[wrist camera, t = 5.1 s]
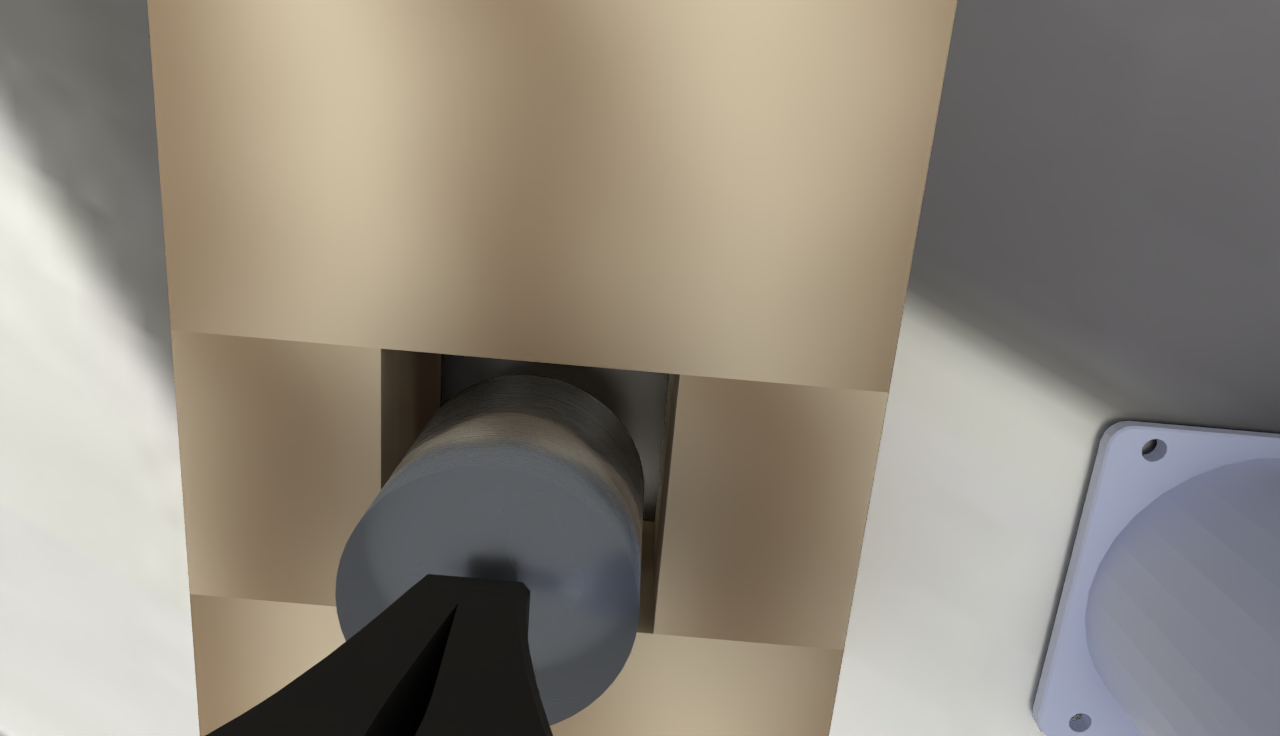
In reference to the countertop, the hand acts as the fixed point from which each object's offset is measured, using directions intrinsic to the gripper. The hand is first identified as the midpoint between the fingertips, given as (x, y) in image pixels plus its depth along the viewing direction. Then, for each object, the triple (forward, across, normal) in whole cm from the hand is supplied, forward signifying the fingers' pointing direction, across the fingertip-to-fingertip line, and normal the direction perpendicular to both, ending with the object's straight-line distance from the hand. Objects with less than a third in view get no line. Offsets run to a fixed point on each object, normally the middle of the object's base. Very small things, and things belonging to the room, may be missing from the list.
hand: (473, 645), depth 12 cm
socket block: (+9, 0, -6) cm, 11 cm away
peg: (+5, 0, 0) cm, 5 cm away
